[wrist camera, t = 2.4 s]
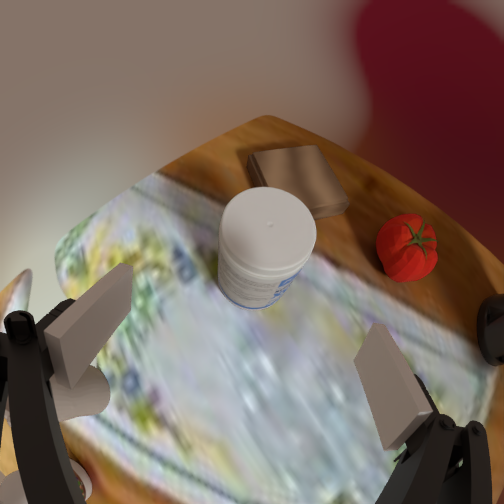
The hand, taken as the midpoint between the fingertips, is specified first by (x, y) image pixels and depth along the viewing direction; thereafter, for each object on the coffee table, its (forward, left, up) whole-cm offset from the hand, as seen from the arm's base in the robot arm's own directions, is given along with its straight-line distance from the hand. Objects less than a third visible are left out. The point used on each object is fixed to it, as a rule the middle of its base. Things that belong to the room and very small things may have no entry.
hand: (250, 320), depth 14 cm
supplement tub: (-6, -9, -23) cm, 26 cm away
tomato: (-30, -5, -23) cm, 38 cm away
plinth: (-18, -22, -23) cm, 37 cm away
